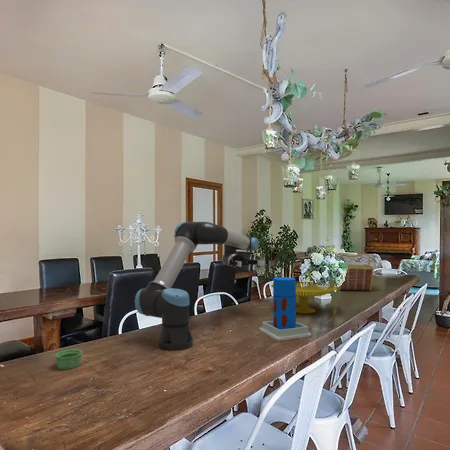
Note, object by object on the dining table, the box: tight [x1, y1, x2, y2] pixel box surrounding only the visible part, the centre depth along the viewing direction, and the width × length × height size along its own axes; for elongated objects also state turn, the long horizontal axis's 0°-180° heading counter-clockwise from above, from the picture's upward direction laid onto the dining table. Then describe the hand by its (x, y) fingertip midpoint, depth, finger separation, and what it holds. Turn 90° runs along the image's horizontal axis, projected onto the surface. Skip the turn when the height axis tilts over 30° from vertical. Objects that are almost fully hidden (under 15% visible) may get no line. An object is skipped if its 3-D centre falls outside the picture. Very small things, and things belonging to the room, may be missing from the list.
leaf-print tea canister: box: [272, 276, 297, 330], centre depth 171 cm, size 11×11×25 cm
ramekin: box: [54, 349, 83, 370], centre depth 130 cm, size 9×9×4 cm
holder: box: [258, 320, 312, 341], centre depth 171 cm, size 18×18×4 cm
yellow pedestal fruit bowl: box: [270, 281, 338, 314], centre depth 219 cm, size 40×40×15 cm
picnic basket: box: [337, 253, 375, 292], centre depth 298 cm, size 29×26×30 cm
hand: (252, 263), depth 189 cm, fingers open, 13 cm apart
